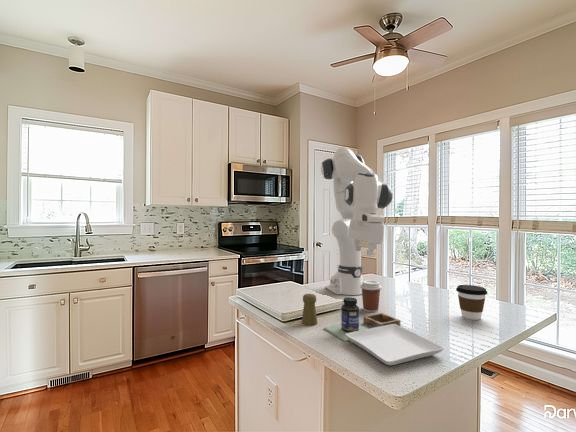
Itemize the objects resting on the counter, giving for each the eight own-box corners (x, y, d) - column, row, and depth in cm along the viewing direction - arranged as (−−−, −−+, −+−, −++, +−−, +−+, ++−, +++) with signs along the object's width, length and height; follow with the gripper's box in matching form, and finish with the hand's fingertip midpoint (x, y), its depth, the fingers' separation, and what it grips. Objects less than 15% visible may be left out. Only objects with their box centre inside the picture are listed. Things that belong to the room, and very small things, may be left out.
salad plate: (388, 373, 82) (388, 360, 82) (343, 342, 101) (343, 332, 101) (446, 358, 90) (446, 347, 90) (394, 332, 110) (394, 323, 110)
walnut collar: (363, 322, 118) (363, 316, 118) (382, 319, 123) (382, 312, 123) (381, 331, 110) (381, 324, 110) (400, 326, 114) (400, 320, 114)
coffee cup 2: (452, 317, 124) (452, 287, 124) (459, 311, 132) (460, 283, 132) (484, 324, 117) (484, 292, 117) (490, 317, 125) (490, 287, 125)
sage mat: (323, 328, 113) (323, 327, 113) (352, 323, 118) (352, 321, 118) (345, 342, 101) (345, 340, 101) (376, 335, 107) (376, 333, 107)
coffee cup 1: (373, 314, 128) (373, 285, 128) (355, 309, 135) (355, 281, 135) (385, 309, 134) (385, 282, 134) (367, 305, 141) (367, 278, 141)
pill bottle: (350, 334, 106) (350, 302, 105) (337, 329, 110) (337, 298, 110) (362, 330, 109) (362, 299, 109) (349, 325, 114) (349, 295, 114)
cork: (308, 319, 123) (308, 291, 123) (320, 323, 119) (320, 294, 118) (298, 323, 119) (298, 294, 118) (310, 327, 114) (310, 297, 114)
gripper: (345, 214, 125) (344, 248, 126) (370, 217, 105) (369, 257, 106) (359, 215, 127) (358, 248, 127) (387, 217, 107) (385, 257, 107)
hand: (363, 253), depth 116 cm, fingers open, 8 cm apart
